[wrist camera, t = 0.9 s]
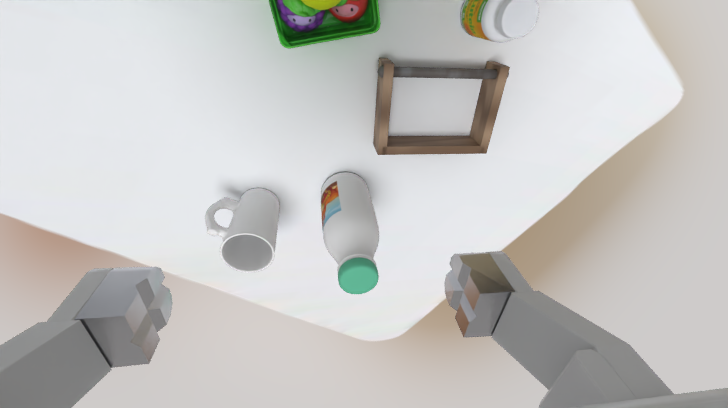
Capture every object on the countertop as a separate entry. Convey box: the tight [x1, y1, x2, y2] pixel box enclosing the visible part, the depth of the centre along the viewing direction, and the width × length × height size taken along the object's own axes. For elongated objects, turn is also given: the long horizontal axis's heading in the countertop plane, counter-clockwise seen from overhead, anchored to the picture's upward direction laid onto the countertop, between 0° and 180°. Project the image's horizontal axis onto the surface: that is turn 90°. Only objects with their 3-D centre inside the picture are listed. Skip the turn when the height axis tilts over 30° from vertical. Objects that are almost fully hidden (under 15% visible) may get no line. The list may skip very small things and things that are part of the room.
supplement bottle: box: [461, 0, 539, 43], centre depth 37 cm, size 5×5×10 cm
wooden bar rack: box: [373, 58, 510, 155], centre depth 45 cm, size 12×18×4 cm
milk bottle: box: [321, 172, 379, 294], centre depth 45 cm, size 8×8×20 cm
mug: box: [205, 188, 280, 272], centre depth 46 cm, size 10×7×12 cm, turn 53°
